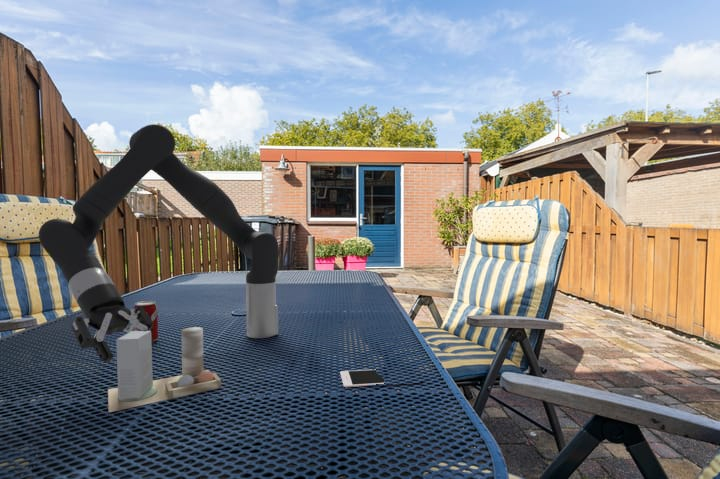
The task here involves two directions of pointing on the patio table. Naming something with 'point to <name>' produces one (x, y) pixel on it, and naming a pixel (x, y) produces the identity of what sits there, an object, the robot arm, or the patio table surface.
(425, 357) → the patio table surface
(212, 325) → the patio table surface
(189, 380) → the ball
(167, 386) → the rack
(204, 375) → the ball
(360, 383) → the cell phone
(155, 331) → the soda can
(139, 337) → the skincare box
